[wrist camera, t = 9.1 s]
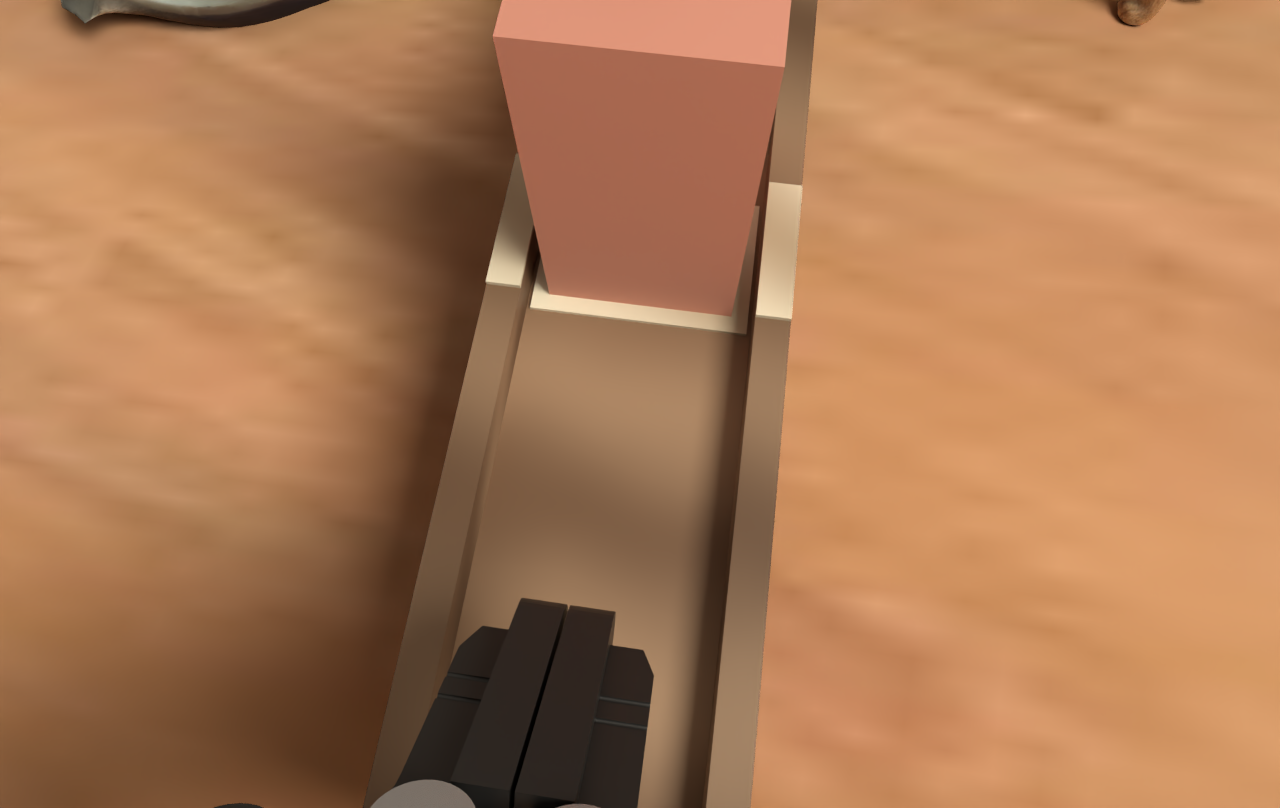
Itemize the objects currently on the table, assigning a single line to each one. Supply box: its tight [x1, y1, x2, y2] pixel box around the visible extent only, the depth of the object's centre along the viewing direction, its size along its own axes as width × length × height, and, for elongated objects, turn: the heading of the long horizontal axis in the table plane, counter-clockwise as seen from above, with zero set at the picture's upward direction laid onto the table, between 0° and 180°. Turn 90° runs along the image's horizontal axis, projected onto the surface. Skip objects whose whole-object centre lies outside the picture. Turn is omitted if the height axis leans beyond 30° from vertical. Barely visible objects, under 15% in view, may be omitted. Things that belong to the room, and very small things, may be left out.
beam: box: [363, 0, 817, 808], centre depth 22 cm, size 28×7×8 cm, turn 172°
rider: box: [493, 0, 791, 317], centre depth 16 cm, size 5×4×9 cm
